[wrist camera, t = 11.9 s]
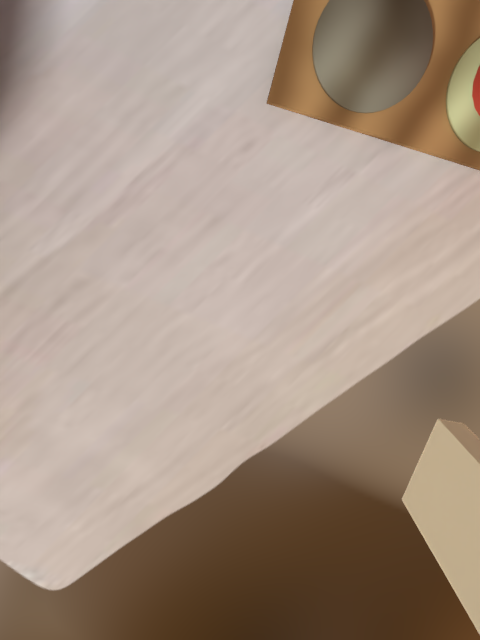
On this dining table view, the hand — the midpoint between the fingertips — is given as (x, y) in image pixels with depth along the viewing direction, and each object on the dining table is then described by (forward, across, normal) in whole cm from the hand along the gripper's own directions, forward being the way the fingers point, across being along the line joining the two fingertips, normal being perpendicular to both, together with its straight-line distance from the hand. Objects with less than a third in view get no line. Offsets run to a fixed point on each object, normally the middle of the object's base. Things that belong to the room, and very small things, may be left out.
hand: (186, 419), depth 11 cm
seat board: (+30, +16, +18) cm, 39 cm away
